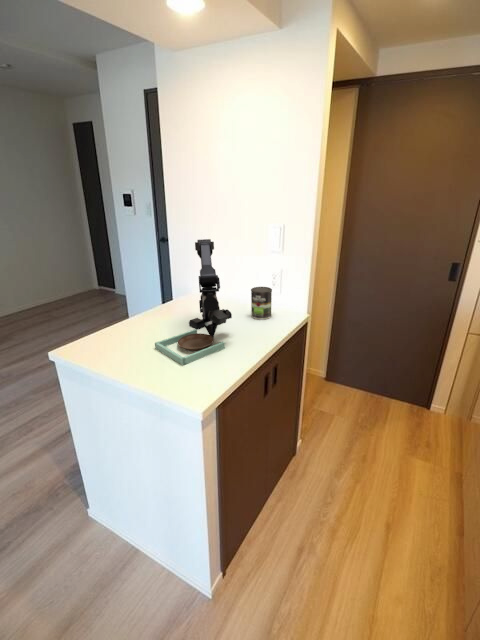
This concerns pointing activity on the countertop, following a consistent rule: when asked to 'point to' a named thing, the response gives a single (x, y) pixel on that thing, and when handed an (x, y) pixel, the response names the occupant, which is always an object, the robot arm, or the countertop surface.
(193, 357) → the tray
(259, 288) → the coffee can
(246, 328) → the countertop surface
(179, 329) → the countertop surface
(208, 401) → the countertop surface
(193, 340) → the saucer
